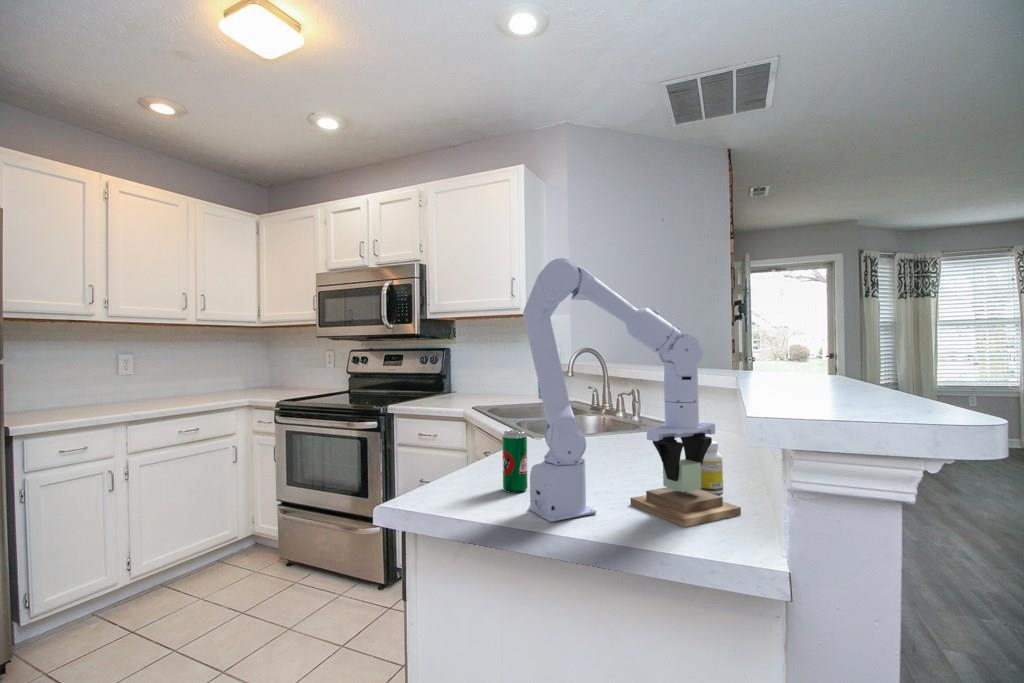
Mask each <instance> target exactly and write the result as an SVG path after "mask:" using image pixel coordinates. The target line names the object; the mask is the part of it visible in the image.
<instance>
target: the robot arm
mask: <svg viewBox="0 0 1024 683" xmlns="http://www.w3.org/2000/svg"><path fill="white" fill-rule="evenodd" d="M570 294H572V296H571V301H573V300H574V301H577V300H578V301H590V302H591V303H592V304H594V305H595V306H598V307H599V308H601V309H602V310H604V311H605V312H606V313H609V314H610V315H612V316H613V317H615V318H616V319H618V320H619V321H621V322H622V323H624V324H625V327H626V332H627V334H628V335H630V336H631V337H632V338H634V339H635V341H638V342H639V343H641V344H642V345H643V346H645V347H646V348H648V349H649V350H651V351H652V352H654V353H655V354H657V355H658V357H659V360H660V361H662V363H663V371H664V373H663V389H664V423H662V425H658V426H654V427H649V428H648V427H647V428H646V440H648V441H652V444H653V446H654V447H655V449H656V451H657V453H658V456H659V457H660V460H661V463H662V467H663V466H664V469H665V473H666V477H667V479H669V480H673V481H678V477H679V463H680V458H681V456H682V451H683V450H684V455H685V456H684V457H685V458H684V459H687V460H691V461H695V462H699V463H701V466H702V462H703V459H704V456H705V454H706V452H707V450H708V448H709V446H710V445H711V443H712V441H713V440H712V437H711V436H706V435H716V423H713V422H707V421H706V422H700V415H699V412H700V410H699V408H700V407H699V376H698V364H699V363H700V362H701V360H702V358H703V356H704V348H703V349H702V346H701V344H700V343H699V340H698V338H696V337H695V336H694V335H691V334H689V333H681V330H682V327H680V326H679V325H673V324H671V322H669V321H667V320H665V319H664V318H663V317H662V316H660V314H661V312H660V311H659V310H657V309H656V308H652V309H650V308H648V307H643V308H639V309H638V308H636V307H635V306H634V305H632V304H631V303H629V302H628V301H627V300H626V299H624V298H623V297H622V296H620V295H619V294H618V293H616V292H615V291H614V290H613V289H611V288H610V287H608V286H607V285H606V284H605V283H603V282H602V281H601V280H600V279H599V278H597V277H595V276H594V275H593V274H592V273H590V272H589V271H588V270H587V269H585V268H583V267H581V266H578V267H577V265H576V264H575V263H574V262H573V261H572V260H569V259H567V258H562V257H560V258H555V259H553V260H551V261H549V262H548V263H547V264H546V265H545V267H544V268H543V269H542V270H541V271H540V272H539V274H538V275H537V276H536V279H535V281H534V285H533V286H532V289H531V292H530V294H529V296H528V298H527V299H528V300H527V301H526V303H525V306H524V309H523V312H522V313H523V314H522V316H523V321H524V325H525V329H526V334H527V338H528V343H529V347H530V353H531V356H532V361H533V365H534V370H535V374H536V377H537V383H538V386H539V391H540V397H541V399H542V405H543V409H544V410H543V411H544V415H545V416H544V417H545V421H546V422H545V423H546V428H545V432H544V440H545V443H546V445H547V446H548V448H549V450H548V452H547V453H546V454H545V455H544V456H543V457H544V458H543V459H544V460H543V461H542V462H540V463H537V464H534V465H533V466H532V467H531V469H530V473H529V495H530V496H529V497H530V498H529V500H530V501H529V502H530V505H528V510H530V511H531V512H533V513H535V514H537V515H539V516H540V517H541V518H543V519H545V520H546V521H548V522H552V523H553V522H557V521H564V520H568V519H573V518H579V517H584V516H589V515H594V514H597V510H596V509H594V508H592V507H591V506H589V505H587V492H586V490H587V489H586V487H587V486H586V485H587V484H586V477H587V476H586V457H585V456H584V454H585V452H586V448H587V440H586V436H584V433H583V432H582V431H581V430H580V429H579V427H578V424H577V423H576V422H577V421H576V418H575V415H574V411H573V409H572V406H571V403H570V399H569V394H568V389H567V385H566V382H565V377H564V372H563V368H562V364H561V360H560V355H559V350H558V347H557V343H556V338H555V337H556V336H555V333H554V329H553V324H552V321H551V317H552V315H553V314H554V313H555V311H556V310H557V308H558V306H559V305H560V303H562V302H563V301H565V299H566V298H567V297H569V296H570ZM677 438H680V440H681V442H680V441H677Z"/></svg>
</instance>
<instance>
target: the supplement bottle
mask: <svg viewBox="0 0 1024 683" xmlns="http://www.w3.org/2000/svg"><path fill="white" fill-rule="evenodd" d="M718 450H719V442H718V441H716V440H712V443H711V445H710V446H709V448H708V450H707V452H706V454H705V456H704V459H703V462H702V466H701V489H699V490H702V491H705V492H708V493H712V494H715V495H719V494H722V493H723V492H724V469H723V468H724V467H723V466H724V465H723V464H724V463H723V456H722V454H721V453H720V452H718Z"/></svg>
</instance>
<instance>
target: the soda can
mask: <svg viewBox="0 0 1024 683" xmlns="http://www.w3.org/2000/svg"><path fill="white" fill-rule="evenodd" d="M503 432H504V434H503V435H502V441H501V442H502V488H503V490H504V491H505V490H506V491H505V492H507V491H509V492H508V493H510V492H520V493H523V492H525V491H526V490H527V489H528V488H529V487H528V486H529V485H528V436H527V434H526V431H525V430H522V429H521V430H520V429H510V430H509V429H508V430H504V431H503ZM522 491H523V492H522Z"/></svg>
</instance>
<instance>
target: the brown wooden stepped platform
mask: <svg viewBox="0 0 1024 683" xmlns="http://www.w3.org/2000/svg"><path fill="white" fill-rule="evenodd" d="M723 498H724V497H723V496H720V495H719V494H712V493H708V492H705V491H702V490H699V489H697V490H692V491H686V492H680V491H677V490H674V489H671V488H668V487H661V488H655V489H649V490H645V495H644V494H643V495H638V496H633V497H630V498H629V499H630V505H631V506H633V507H636V508H637V509H639V510H643V511H645V512H648V513H649V514H652V515H655V516H656V517H659V518H661V519H664V520H666V521H669V522H671V523H674V524H675V525H676V524H677V525H679V526H681V527H683V528H688V527H691V526H696V525H697V526H698V525H700V524H701V525H702V524H705V523H709V522H713V521H718V520H722V518H723V519H726V517H727V518H731V517H730V516H732V517H735V516H734V515H736V516H740V515H741V514H742V509H741V506H738V505H735V504H732V503H730V502H727V501H724V499H723ZM739 514H740V515H739Z"/></svg>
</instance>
